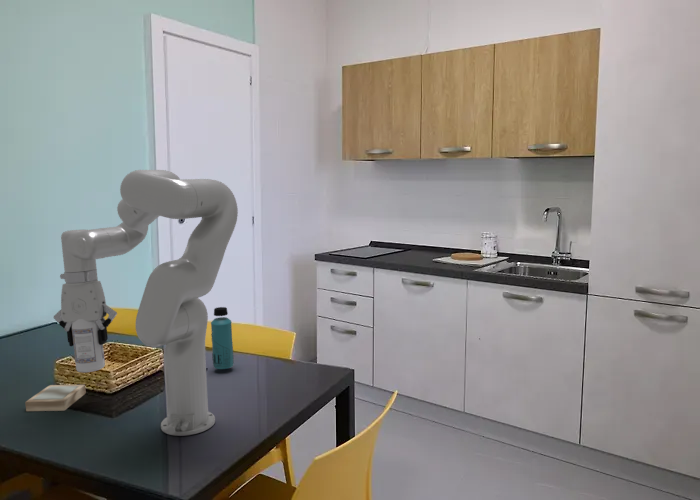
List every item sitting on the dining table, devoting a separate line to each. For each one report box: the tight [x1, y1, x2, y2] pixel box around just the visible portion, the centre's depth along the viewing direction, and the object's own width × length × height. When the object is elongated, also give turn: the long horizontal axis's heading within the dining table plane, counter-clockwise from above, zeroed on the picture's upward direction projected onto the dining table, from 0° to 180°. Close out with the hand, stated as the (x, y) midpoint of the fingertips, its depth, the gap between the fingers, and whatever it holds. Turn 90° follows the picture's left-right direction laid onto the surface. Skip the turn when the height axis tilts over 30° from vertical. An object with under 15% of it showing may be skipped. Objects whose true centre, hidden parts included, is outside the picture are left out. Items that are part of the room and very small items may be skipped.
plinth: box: [24, 384, 87, 412], centre depth 152 cm, size 12×10×3 cm
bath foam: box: [72, 319, 106, 373], centre depth 147 cm, size 7×7×20 cm
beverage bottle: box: [210, 306, 235, 370], centre depth 174 cm, size 6×7×20 cm
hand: (88, 343), depth 148 cm, fingers closed on bath foam, 7 cm apart
